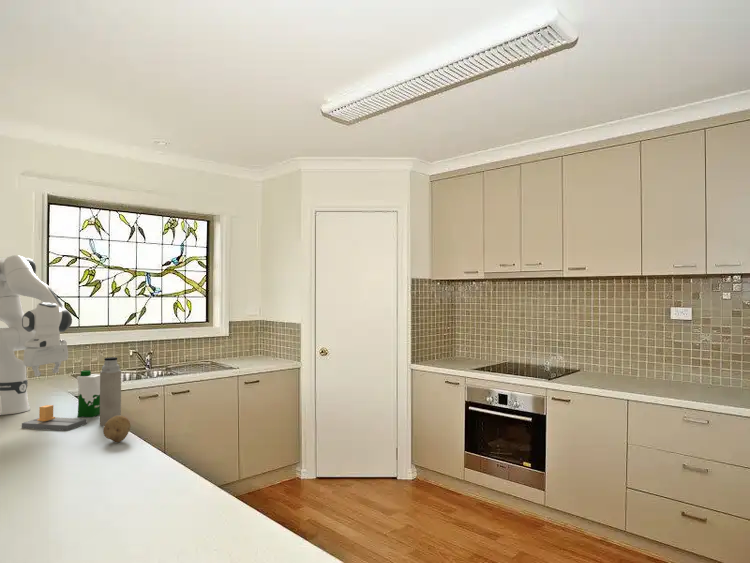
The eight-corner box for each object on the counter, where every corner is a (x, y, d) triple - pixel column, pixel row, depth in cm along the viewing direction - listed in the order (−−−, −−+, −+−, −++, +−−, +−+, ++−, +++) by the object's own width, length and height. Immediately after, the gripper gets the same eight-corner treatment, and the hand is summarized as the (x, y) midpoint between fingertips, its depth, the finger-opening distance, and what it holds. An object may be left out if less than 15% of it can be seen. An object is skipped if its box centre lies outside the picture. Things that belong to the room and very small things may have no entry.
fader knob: (37, 420, 216) (37, 407, 216) (46, 417, 221) (47, 404, 221) (45, 421, 215) (45, 407, 215) (55, 418, 220) (55, 405, 220)
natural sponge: (119, 447, 188) (119, 419, 188) (97, 445, 190) (97, 418, 190) (135, 440, 197) (135, 413, 197) (114, 438, 199) (114, 412, 199)
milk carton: (85, 412, 240) (86, 369, 241) (105, 413, 240) (105, 369, 240) (74, 417, 231) (74, 372, 232) (94, 417, 231) (94, 372, 232)
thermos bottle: (107, 421, 225) (107, 356, 225) (124, 421, 224) (125, 356, 225) (95, 426, 217) (96, 358, 218) (113, 426, 216) (114, 358, 217)
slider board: (21, 428, 214) (21, 422, 214) (43, 421, 224) (43, 416, 225) (67, 430, 210) (67, 425, 210) (86, 423, 221) (86, 418, 221)
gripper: (59, 338, 230) (59, 370, 230) (20, 343, 210) (20, 378, 210) (72, 339, 229) (71, 370, 229) (34, 344, 209) (33, 378, 209)
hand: (46, 374), depth 219 cm, fingers open, 8 cm apart
